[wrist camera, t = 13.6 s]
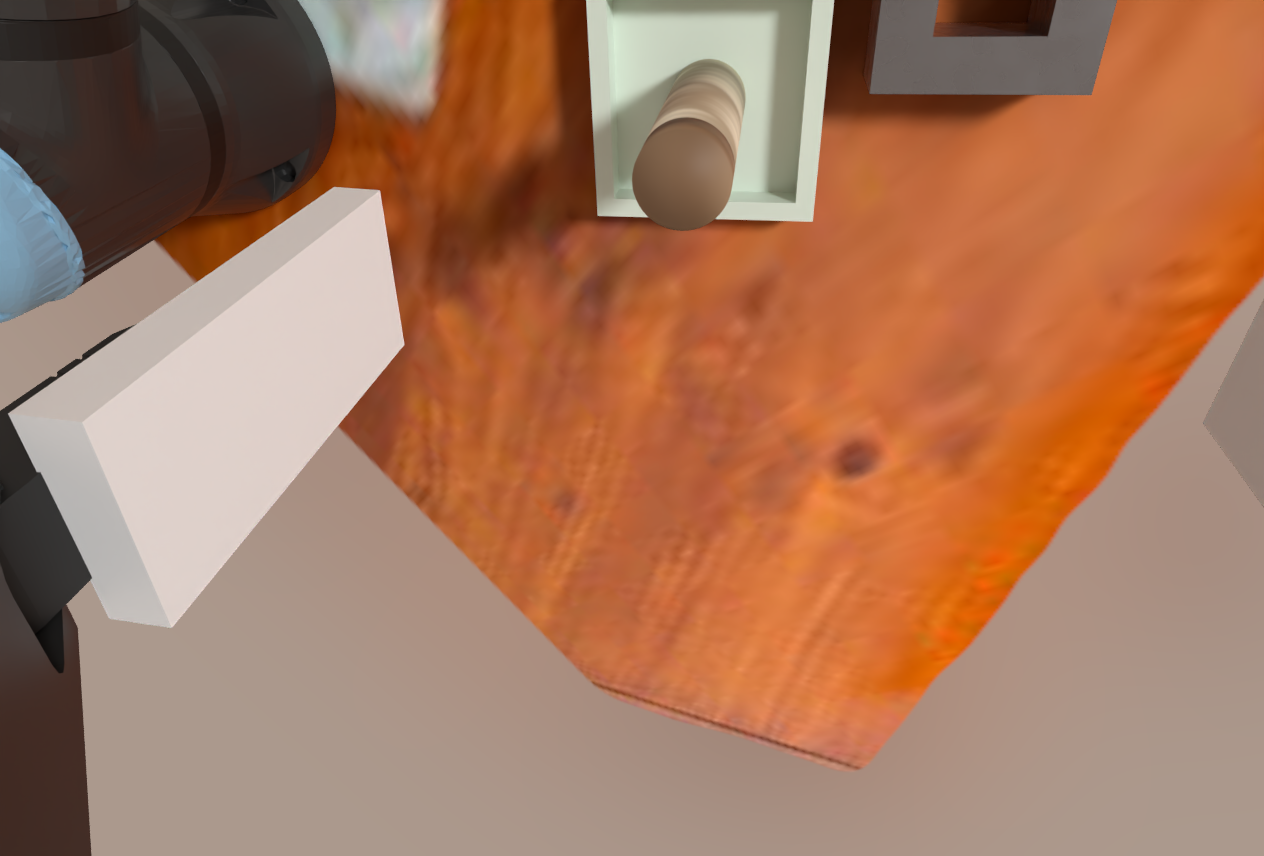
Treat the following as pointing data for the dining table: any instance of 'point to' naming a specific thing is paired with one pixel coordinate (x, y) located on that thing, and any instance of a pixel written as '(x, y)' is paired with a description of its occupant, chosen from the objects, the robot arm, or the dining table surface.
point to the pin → (692, 148)
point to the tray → (767, 64)
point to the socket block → (986, 50)
